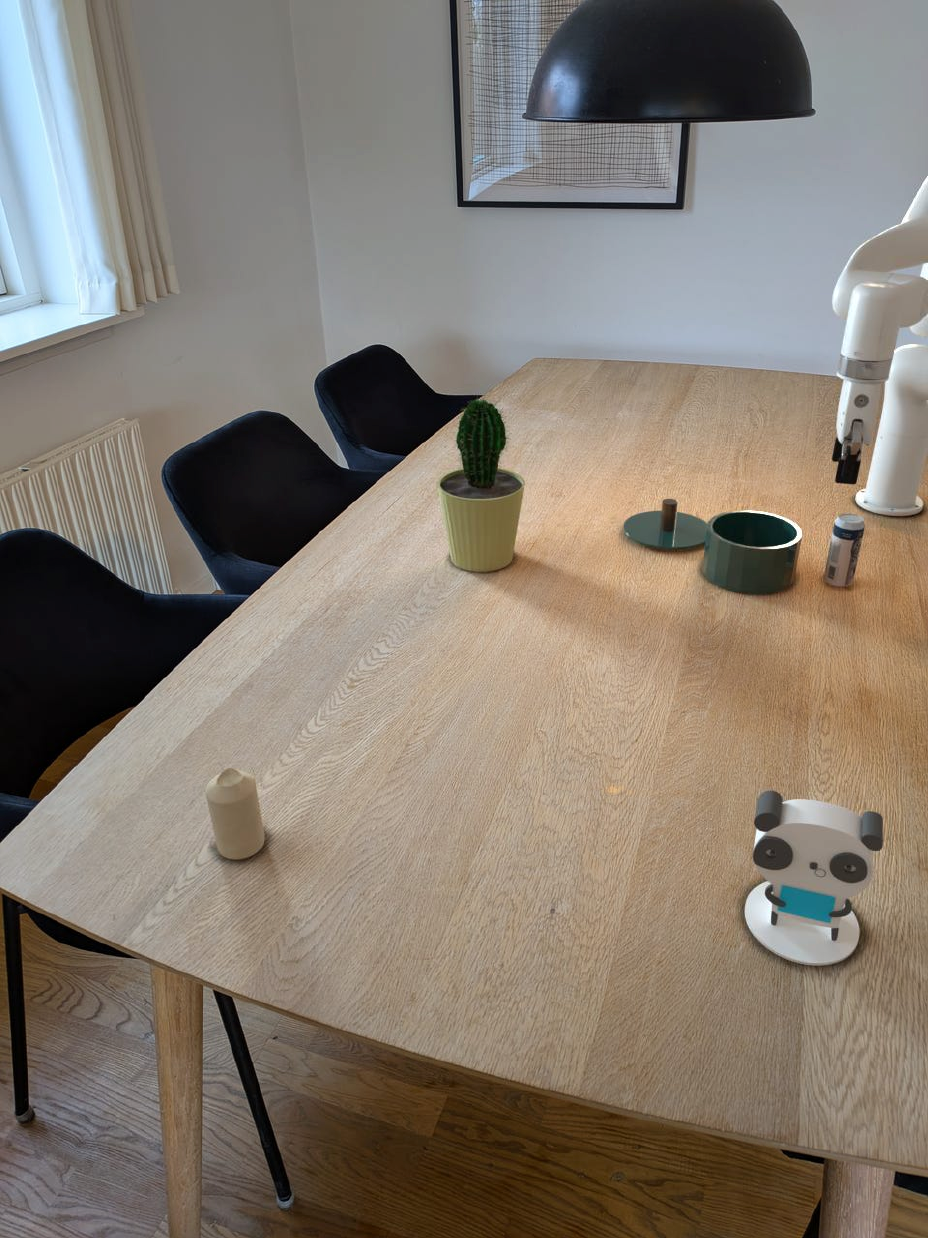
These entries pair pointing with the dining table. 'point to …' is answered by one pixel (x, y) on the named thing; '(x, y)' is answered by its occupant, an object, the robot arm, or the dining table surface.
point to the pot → (751, 552)
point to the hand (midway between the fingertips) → (843, 472)
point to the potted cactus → (481, 494)
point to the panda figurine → (810, 877)
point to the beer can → (844, 550)
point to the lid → (666, 528)
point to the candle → (235, 814)
